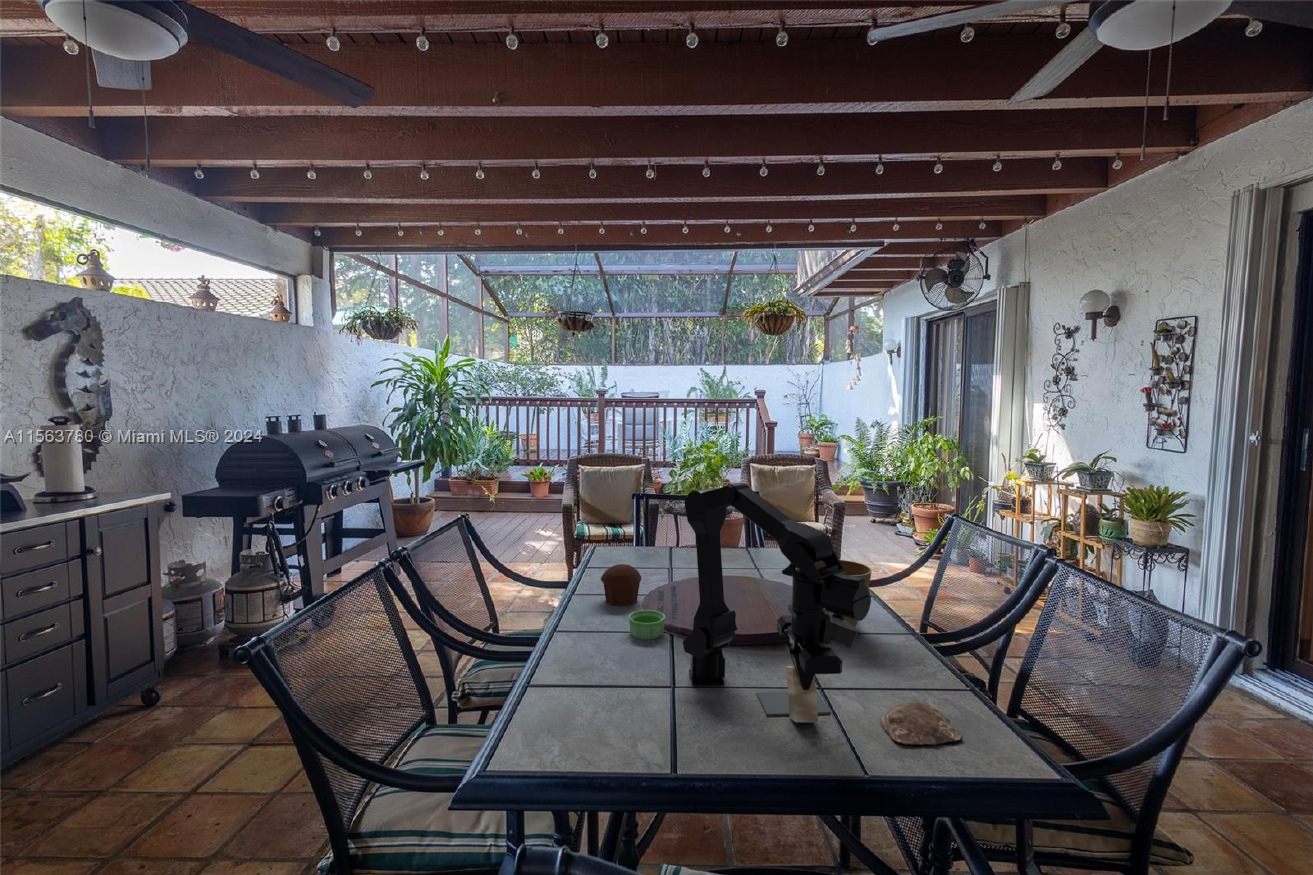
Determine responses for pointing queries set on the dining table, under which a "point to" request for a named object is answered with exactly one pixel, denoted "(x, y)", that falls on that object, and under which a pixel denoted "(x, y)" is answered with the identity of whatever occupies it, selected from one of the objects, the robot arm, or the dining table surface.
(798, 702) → the oak block
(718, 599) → the robot arm
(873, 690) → the dining table surface
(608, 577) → the muffin
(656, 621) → the ramekin
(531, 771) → the dining table surface
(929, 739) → the shell
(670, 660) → the dining table surface
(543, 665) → the dining table surface
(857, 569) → the plant pot
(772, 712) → the mat
